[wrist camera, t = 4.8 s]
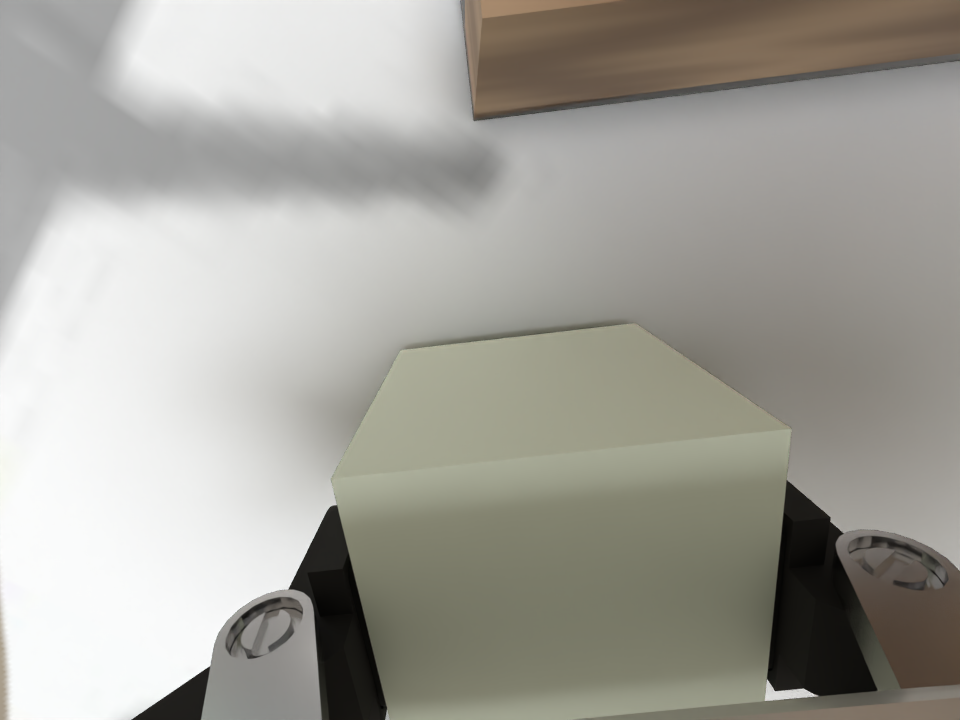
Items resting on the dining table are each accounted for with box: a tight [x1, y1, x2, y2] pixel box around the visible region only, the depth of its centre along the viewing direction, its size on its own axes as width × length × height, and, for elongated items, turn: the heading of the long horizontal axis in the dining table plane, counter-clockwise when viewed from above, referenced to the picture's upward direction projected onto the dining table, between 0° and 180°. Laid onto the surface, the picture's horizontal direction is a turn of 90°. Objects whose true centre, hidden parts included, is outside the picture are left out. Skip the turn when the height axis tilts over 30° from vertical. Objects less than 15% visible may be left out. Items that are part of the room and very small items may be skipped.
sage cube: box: [331, 323, 792, 720], centre depth 10 cm, size 6×6×6 cm
